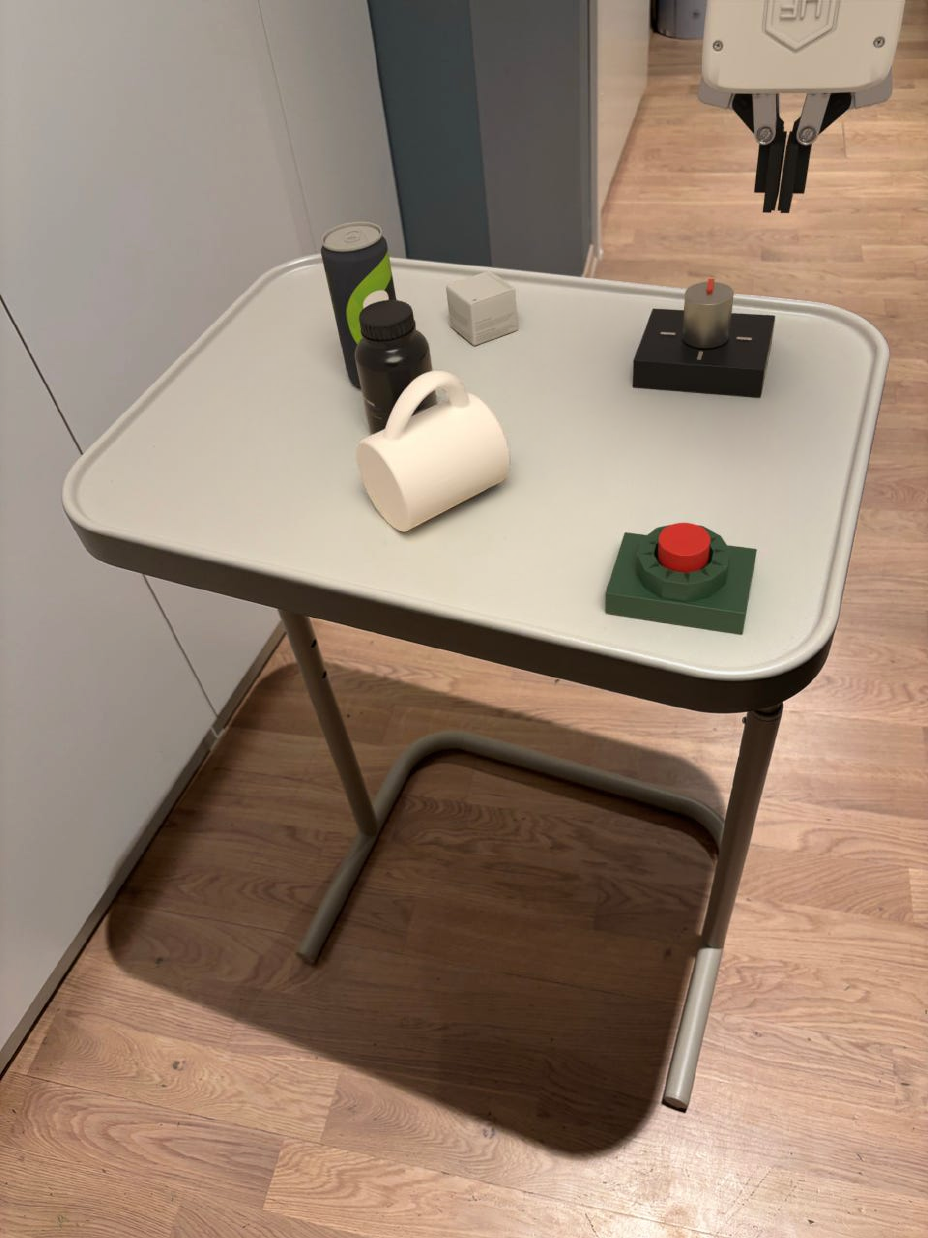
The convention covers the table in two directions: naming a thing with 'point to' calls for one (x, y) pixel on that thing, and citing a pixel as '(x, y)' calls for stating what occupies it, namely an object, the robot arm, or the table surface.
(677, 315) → the dial panel
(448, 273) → the table surface
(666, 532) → the button
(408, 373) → the supplement bottle
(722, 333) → the dial
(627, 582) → the button box
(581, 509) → the table surface
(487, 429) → the mug
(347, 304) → the beverage can
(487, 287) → the small box
